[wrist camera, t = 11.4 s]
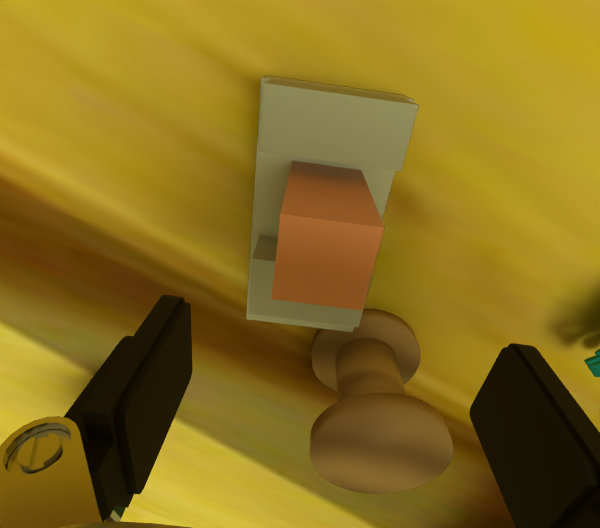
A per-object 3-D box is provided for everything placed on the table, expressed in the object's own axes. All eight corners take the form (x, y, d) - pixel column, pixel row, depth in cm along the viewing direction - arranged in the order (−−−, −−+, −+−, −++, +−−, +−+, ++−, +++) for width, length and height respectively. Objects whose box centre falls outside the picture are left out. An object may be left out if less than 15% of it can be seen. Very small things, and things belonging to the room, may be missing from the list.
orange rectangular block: (361, 169, 20) (384, 228, 14) (348, 232, 22) (362, 310, 16) (292, 160, 20) (280, 213, 13) (285, 224, 22) (271, 299, 15)
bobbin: (400, 391, 33) (428, 499, 25) (305, 380, 33) (301, 486, 25) (430, 316, 29) (475, 419, 21) (320, 302, 28) (321, 401, 20)
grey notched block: (349, 311, 29) (356, 362, 24) (251, 299, 28) (238, 347, 24) (403, 95, 21) (429, 106, 16) (266, 75, 20) (251, 81, 16)
